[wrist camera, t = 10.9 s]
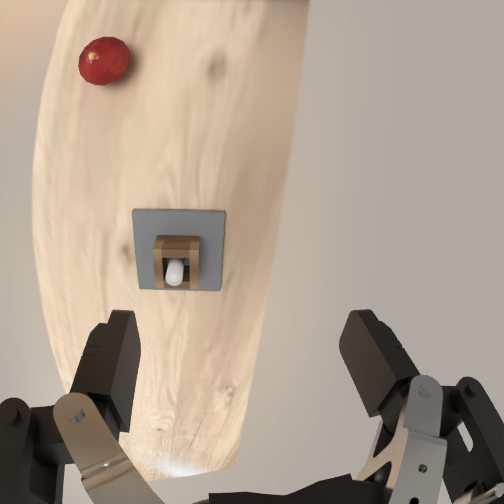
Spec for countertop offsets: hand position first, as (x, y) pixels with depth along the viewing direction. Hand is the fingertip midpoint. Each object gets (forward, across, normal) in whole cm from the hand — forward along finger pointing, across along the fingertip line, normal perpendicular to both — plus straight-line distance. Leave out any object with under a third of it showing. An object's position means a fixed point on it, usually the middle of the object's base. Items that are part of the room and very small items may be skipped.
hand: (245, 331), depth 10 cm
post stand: (+28, +5, +12) cm, 31 cm away
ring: (+27, +5, +12) cm, 30 cm away
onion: (+28, +14, -13) cm, 34 cm away
